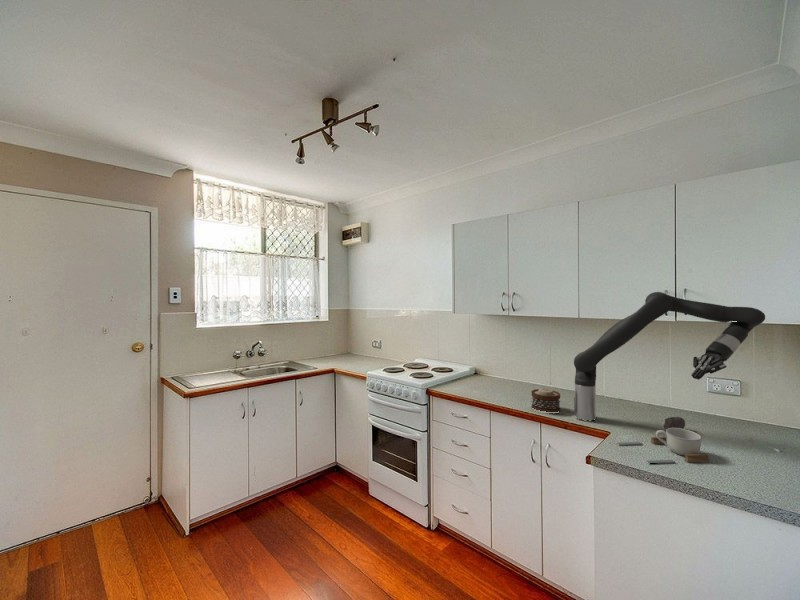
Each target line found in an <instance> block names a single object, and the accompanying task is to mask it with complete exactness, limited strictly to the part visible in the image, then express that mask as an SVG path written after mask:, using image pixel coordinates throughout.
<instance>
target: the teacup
mask: <svg viewBox="0 0 800 600" xmlns="http://www.w3.org/2000/svg"><path fill="white" fill-rule="evenodd" d="M660 434H663V435H664V437H666V441H664V440H663V439H661V438H660V437H661V436H660ZM655 437H657V438H658V439H659V440H660V441H661V442H663V443H664V444H663V445H665V446H666V447H668V449H670V450H671V452H673V453H675V454H676V455H678V456H682V457H685V454H700V451H701V443H702V441H701V440H702V436H701V435H700V434H699V433H697V432H694V431H692V430H689V429H685V428H684V429H681V428H668V429H667V430H666V431H665V430H663V429H657V430H656V432H655Z"/></svg>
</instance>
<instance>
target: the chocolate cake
mask: <svg viewBox="0 0 800 600" xmlns="http://www.w3.org/2000/svg"><path fill="white" fill-rule="evenodd" d="M530 395H531V398H530V399H532V400H531V401H530V402H531V409H532V408H534V409H536V410H540V411H546V412H558V411H560V412H561V406H560V405H561V400H560V399H561V393H560V392H559V391H557V390H552V389H549V388H537V389H532V390H531V394H530Z"/></svg>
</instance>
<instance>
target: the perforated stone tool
mask: <svg viewBox="0 0 800 600" xmlns="http://www.w3.org/2000/svg"><path fill="white" fill-rule="evenodd" d="M685 427H686V421H685V419H684V418H683V417H681V416H670V417H667V418H665V419H664V423H663V429H664V431H665V432H666V430H667V429H668V428H681V429H685Z"/></svg>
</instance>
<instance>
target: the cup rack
mask: <svg viewBox="0 0 800 600" xmlns="http://www.w3.org/2000/svg"><path fill="white" fill-rule="evenodd" d="M659 437H660V438H661V439H663V440H664V441H666V437H665V436H659ZM650 440H651V441H650V443H651V444H652V445H665V444H664V443H663V442H661V441H660V440H659V439H658V438H657V437H656V436H651V438H650ZM684 462H685V463H689V464H690V463H708V462H709V454H707V453H698V454H685V456H684Z"/></svg>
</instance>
